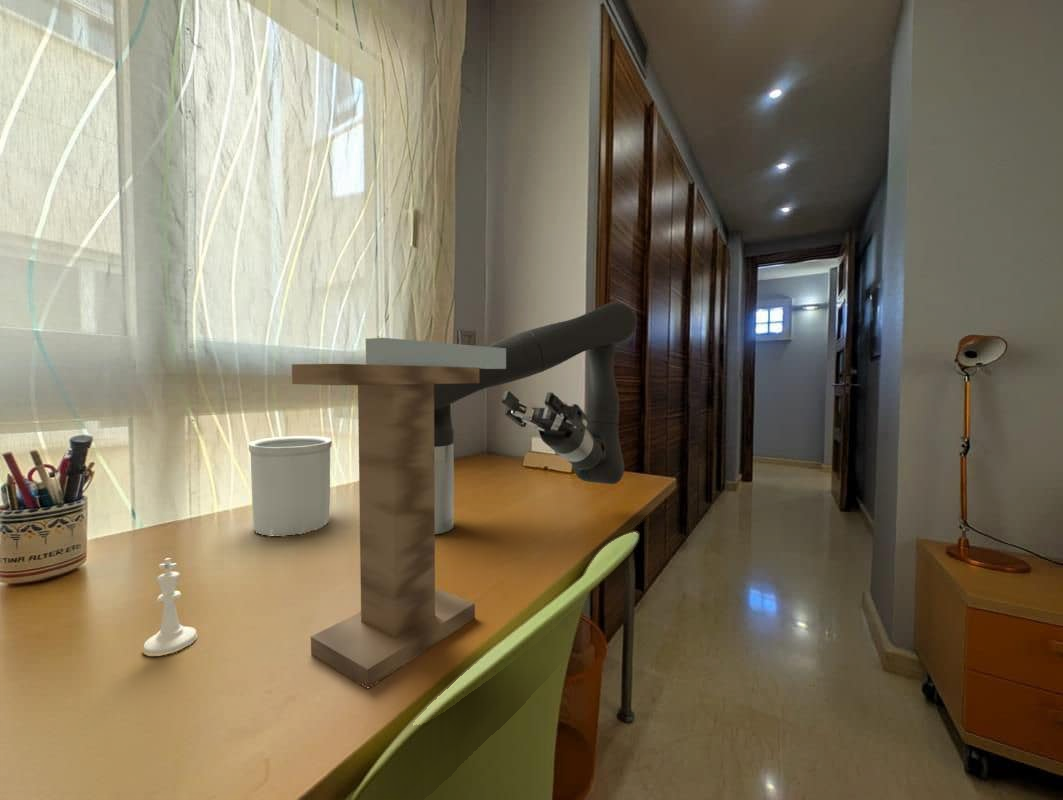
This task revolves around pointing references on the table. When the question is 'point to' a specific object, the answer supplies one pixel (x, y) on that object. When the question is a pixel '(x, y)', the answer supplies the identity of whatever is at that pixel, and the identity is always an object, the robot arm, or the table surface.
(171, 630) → the chess piece
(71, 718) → the table surface
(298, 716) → the table surface
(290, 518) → the utensil holder
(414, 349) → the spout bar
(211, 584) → the table surface
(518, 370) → the robot arm
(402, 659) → the walnut stand
